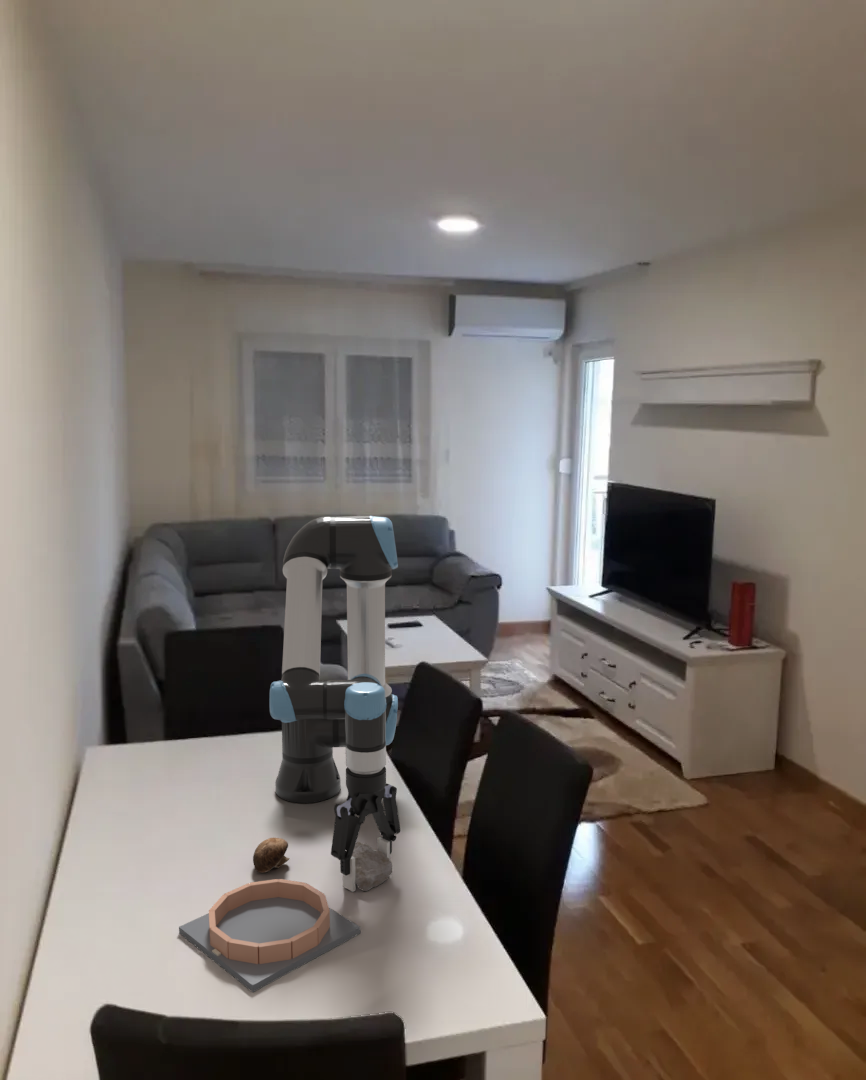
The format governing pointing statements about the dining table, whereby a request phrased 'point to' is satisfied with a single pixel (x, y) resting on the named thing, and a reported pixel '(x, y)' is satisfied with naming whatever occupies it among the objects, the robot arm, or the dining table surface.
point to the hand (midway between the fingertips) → (366, 879)
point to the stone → (370, 866)
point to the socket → (268, 930)
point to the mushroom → (270, 854)
